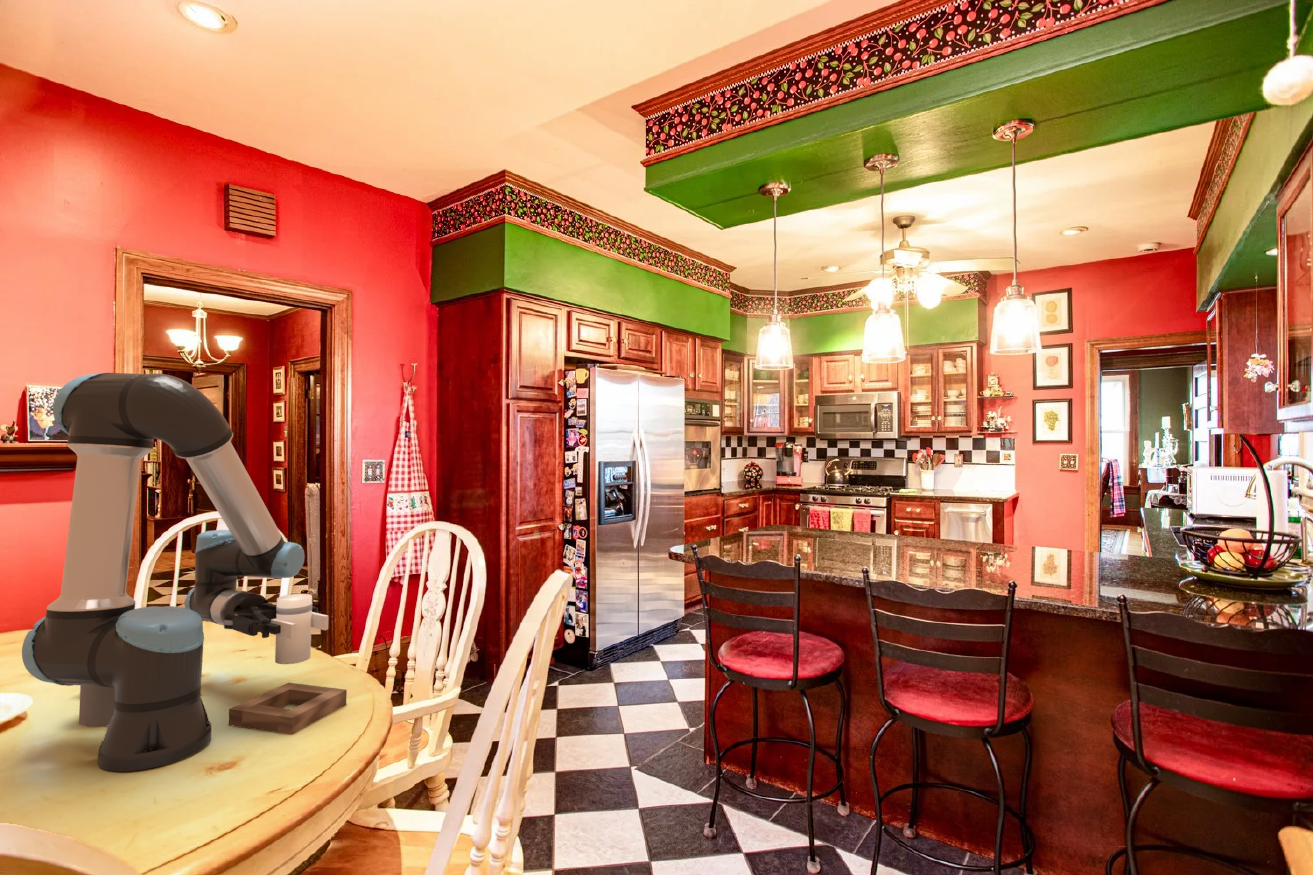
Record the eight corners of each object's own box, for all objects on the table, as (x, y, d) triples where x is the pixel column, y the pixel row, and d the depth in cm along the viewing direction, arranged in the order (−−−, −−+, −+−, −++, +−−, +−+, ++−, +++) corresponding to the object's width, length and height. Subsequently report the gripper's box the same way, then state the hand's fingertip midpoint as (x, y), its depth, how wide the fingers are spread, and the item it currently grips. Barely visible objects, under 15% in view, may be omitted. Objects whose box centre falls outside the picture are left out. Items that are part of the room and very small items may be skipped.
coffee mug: (76, 731, 114) (78, 675, 114) (81, 712, 121) (83, 660, 122) (170, 713, 122) (172, 661, 122) (169, 697, 130) (170, 648, 130)
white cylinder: (293, 665, 120) (295, 602, 120) (267, 662, 121) (268, 599, 121) (317, 655, 126) (319, 595, 126) (292, 652, 127) (293, 592, 127)
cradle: (291, 734, 114) (292, 717, 114) (228, 725, 118) (229, 708, 118) (346, 704, 128) (346, 689, 128) (288, 696, 131) (288, 682, 131)
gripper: (285, 617, 140) (353, 634, 129) (189, 639, 124) (259, 661, 113) (286, 583, 140) (354, 597, 129) (190, 601, 124) (260, 618, 113)
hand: (310, 627), depth 121 cm, fingers closed on white cylinder, 6 cm apart
